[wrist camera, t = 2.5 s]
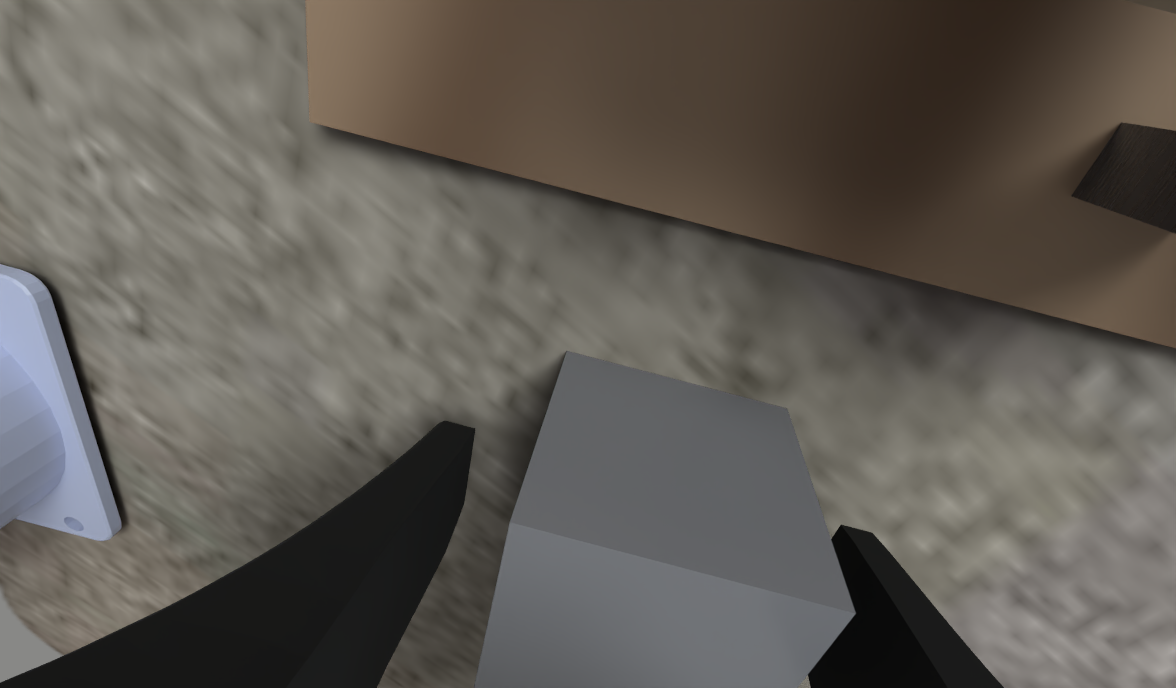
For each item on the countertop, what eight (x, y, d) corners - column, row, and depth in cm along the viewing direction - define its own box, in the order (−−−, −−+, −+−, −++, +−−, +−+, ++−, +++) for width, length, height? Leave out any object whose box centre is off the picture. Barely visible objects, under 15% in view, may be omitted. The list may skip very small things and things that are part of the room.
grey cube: (530, 505, 13) (470, 703, 9) (567, 349, 11) (509, 522, 7) (711, 552, 13) (730, 772, 9) (786, 406, 11) (855, 613, 7)
